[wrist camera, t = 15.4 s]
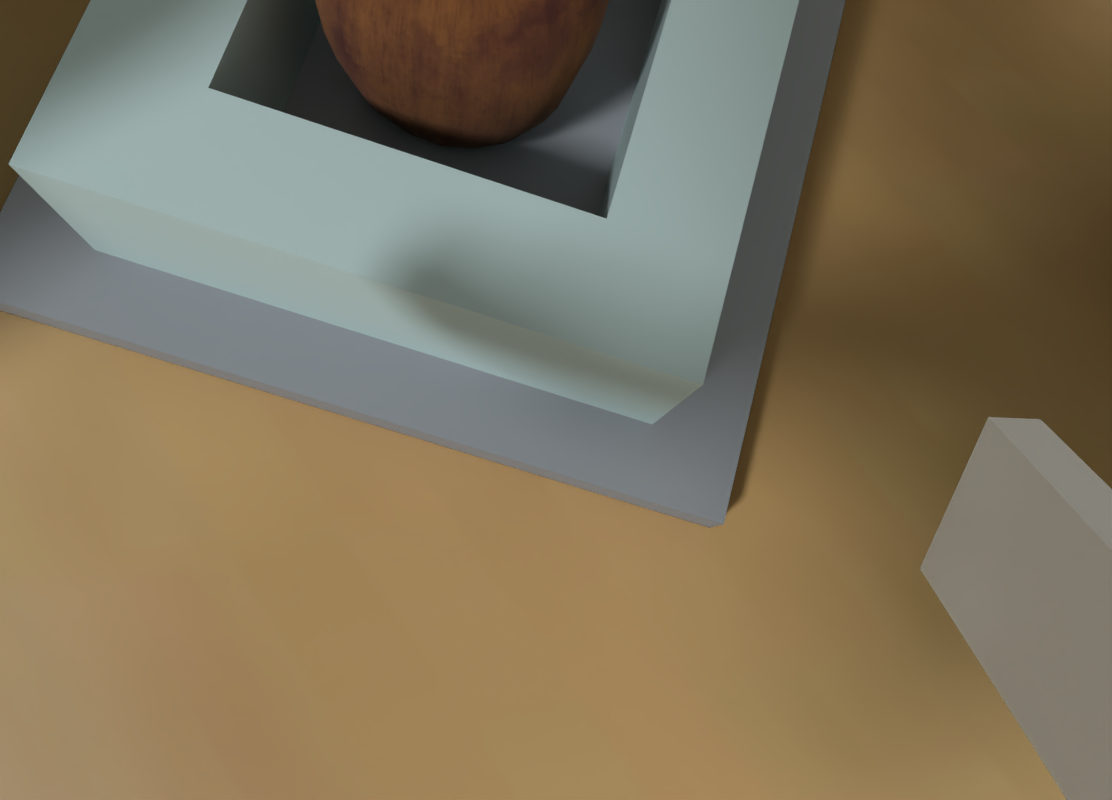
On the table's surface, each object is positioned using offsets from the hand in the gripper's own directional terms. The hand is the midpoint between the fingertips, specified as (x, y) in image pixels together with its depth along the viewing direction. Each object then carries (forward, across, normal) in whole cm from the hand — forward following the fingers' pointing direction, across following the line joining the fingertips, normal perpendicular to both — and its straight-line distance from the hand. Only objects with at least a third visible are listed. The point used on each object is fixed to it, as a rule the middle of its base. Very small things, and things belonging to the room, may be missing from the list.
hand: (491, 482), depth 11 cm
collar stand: (+17, 0, 0) cm, 17 cm away
